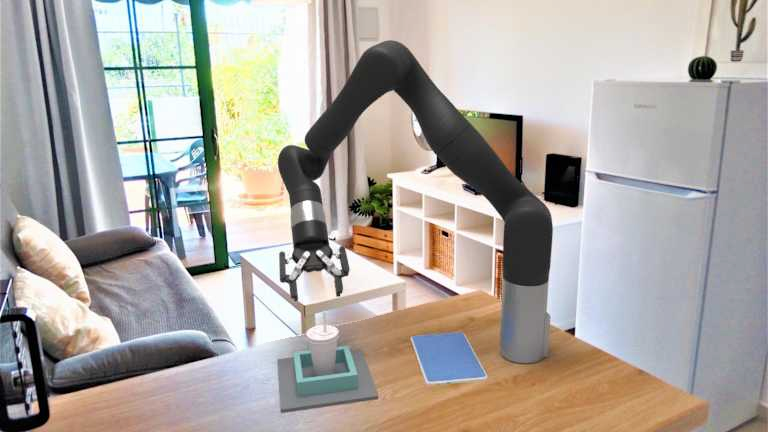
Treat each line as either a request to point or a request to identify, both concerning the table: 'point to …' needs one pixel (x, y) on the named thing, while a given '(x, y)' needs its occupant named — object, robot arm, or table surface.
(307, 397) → the holder
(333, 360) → the smoothie
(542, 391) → the table surface
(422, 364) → the tablet computer
